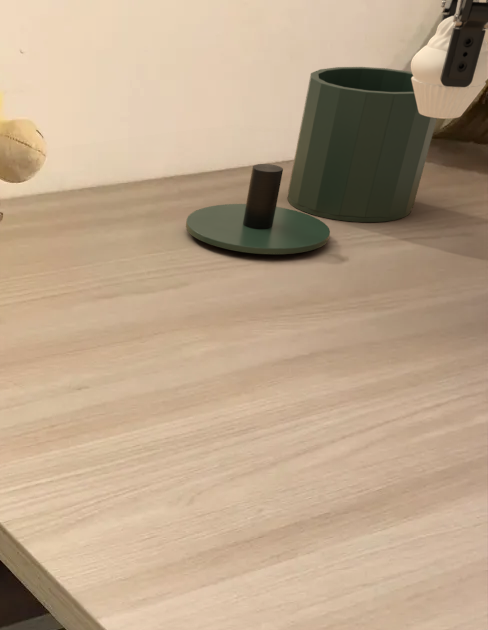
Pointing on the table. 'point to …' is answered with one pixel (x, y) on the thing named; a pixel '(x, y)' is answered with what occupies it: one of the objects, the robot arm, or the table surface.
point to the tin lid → (259, 221)
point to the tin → (360, 145)
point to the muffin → (428, 72)
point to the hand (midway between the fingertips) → (449, 76)
